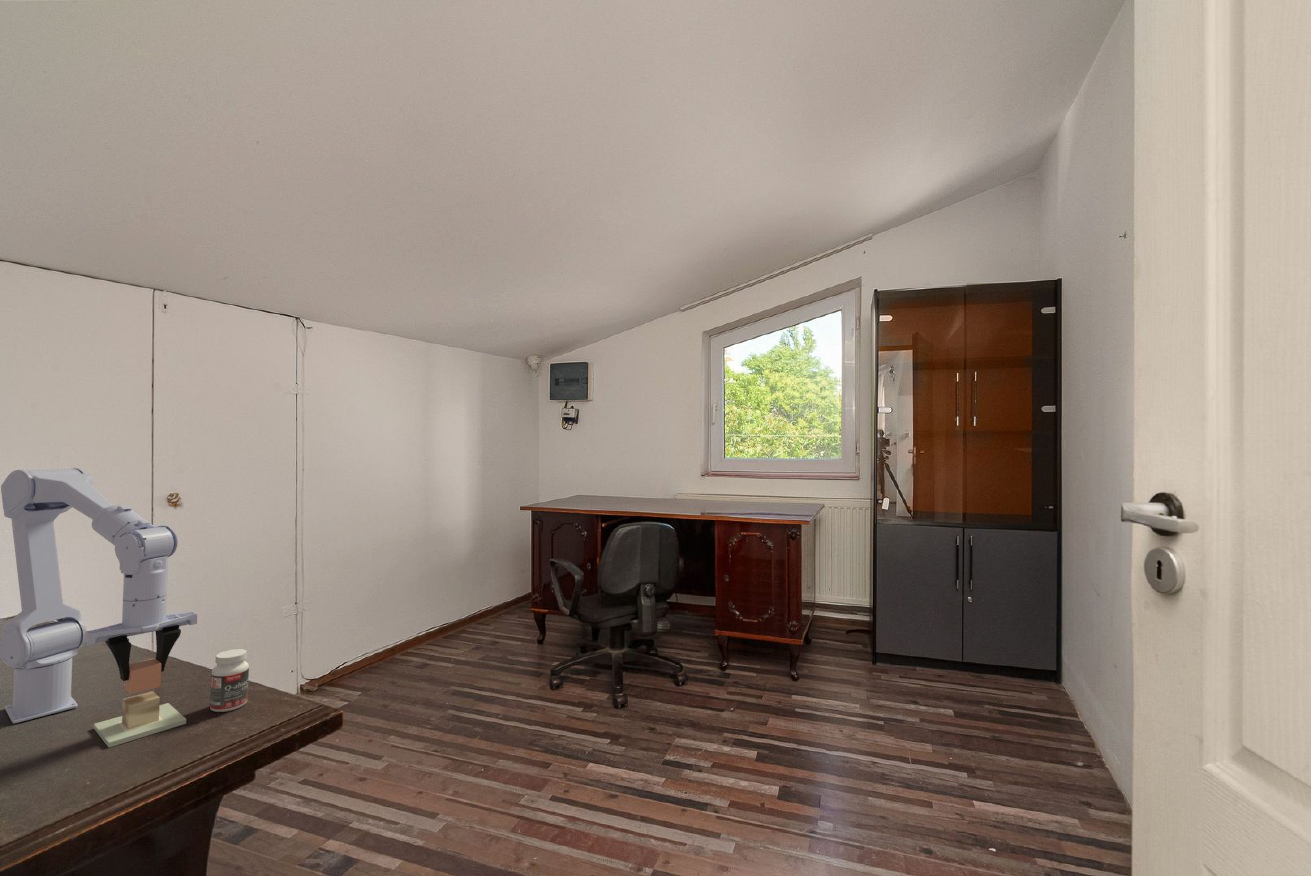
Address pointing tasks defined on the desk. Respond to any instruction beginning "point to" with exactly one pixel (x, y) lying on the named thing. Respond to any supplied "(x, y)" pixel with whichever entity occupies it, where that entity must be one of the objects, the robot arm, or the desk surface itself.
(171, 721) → the board
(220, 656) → the pill bottle
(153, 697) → the beech cube
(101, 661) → the desk surface
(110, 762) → the desk surface
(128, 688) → the terracotta cube
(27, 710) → the robot arm
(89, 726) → the desk surface
